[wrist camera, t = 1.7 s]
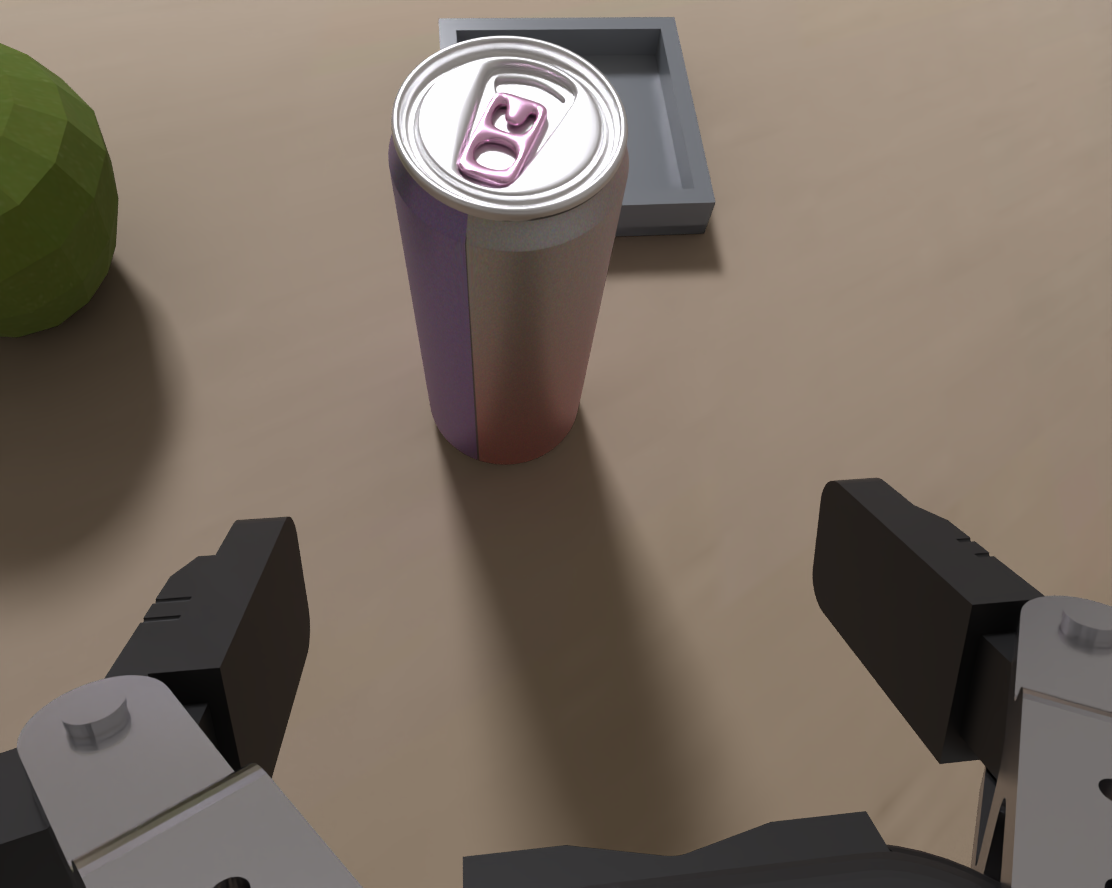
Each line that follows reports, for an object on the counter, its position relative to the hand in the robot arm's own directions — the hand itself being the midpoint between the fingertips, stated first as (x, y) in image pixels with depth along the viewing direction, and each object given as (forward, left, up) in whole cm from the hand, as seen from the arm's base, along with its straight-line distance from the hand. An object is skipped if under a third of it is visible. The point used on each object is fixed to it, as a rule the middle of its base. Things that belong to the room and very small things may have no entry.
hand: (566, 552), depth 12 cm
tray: (+4, +25, -17) cm, 31 cm away
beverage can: (0, +11, -18) cm, 21 cm away
